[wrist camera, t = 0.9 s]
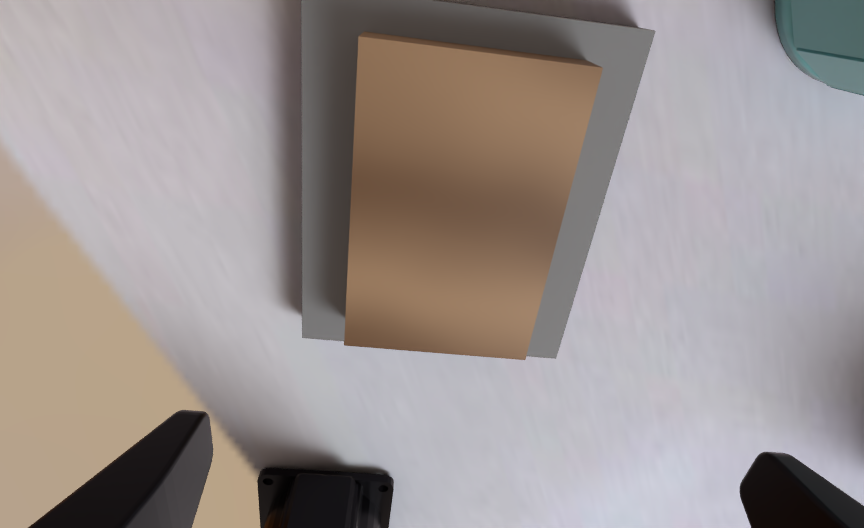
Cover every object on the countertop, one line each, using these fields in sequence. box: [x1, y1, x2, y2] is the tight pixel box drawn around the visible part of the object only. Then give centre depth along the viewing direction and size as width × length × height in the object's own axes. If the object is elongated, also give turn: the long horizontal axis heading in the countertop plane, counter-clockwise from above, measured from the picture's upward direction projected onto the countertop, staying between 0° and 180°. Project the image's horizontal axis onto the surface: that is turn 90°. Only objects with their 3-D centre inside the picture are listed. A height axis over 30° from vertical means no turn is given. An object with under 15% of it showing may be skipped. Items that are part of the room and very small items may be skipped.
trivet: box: [301, 0, 655, 359], centre depth 17 cm, size 12×10×1 cm
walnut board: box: [344, 32, 603, 360], centre depth 16 cm, size 10×6×2 cm, turn 173°
